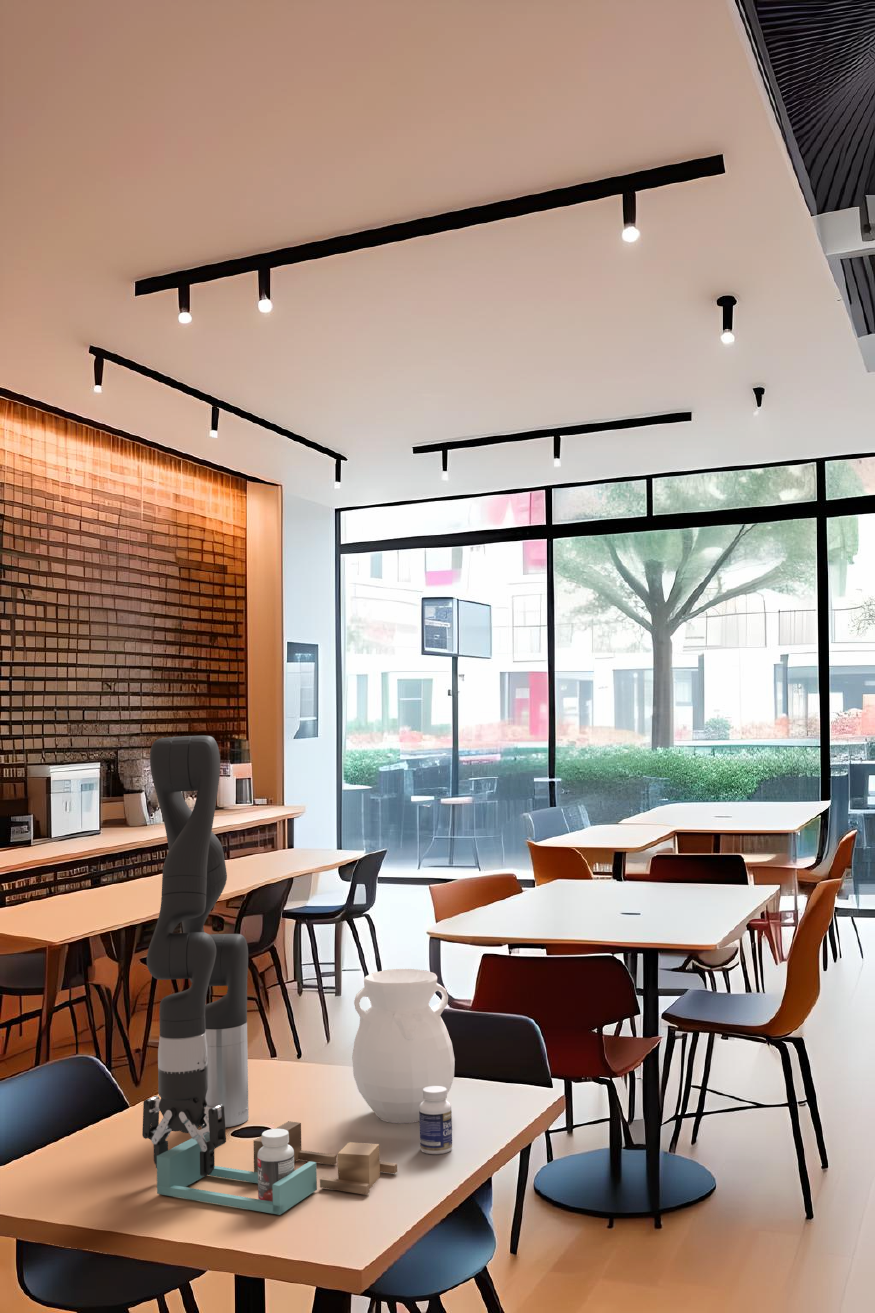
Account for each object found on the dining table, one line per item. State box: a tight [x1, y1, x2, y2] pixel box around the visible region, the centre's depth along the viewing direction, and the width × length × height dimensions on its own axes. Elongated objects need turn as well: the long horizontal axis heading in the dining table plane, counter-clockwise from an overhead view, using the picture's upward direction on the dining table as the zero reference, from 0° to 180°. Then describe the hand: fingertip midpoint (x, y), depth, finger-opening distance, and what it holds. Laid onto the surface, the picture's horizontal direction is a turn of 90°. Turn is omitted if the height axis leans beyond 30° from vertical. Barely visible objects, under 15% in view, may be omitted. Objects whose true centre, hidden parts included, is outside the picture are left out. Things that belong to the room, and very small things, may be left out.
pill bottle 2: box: [418, 1086, 453, 1155], centre depth 188 cm, size 5×5×10 cm
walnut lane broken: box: [252, 1121, 398, 1195], centre depth 178 cm, size 20×10×6 cm, turn 65°
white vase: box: [351, 968, 456, 1124], centre depth 207 cm, size 19×18×25 cm
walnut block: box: [337, 1142, 381, 1189], centre depth 175 cm, size 5×5×5 cm
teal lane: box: [156, 1137, 318, 1216], centre depth 171 cm, size 22×10×6 cm, turn 65°
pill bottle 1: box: [257, 1128, 295, 1202], centre depth 169 cm, size 5×5×10 cm
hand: (184, 1171), depth 176 cm, fingers open, 8 cm apart
